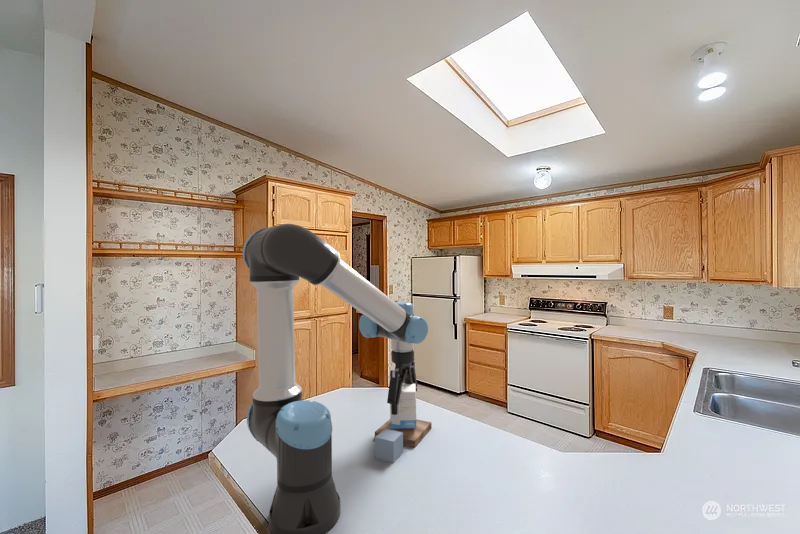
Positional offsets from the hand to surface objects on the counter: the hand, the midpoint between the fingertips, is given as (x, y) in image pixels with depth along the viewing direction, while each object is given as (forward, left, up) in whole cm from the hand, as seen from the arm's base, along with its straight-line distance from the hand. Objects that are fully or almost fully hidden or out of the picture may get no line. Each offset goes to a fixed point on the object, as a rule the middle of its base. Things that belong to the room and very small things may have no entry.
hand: (403, 416), depth 115 cm
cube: (-14, -2, -5) cm, 15 cm away
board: (0, 0, -5) cm, 5 cm away
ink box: (0, 0, -2) cm, 2 cm away
